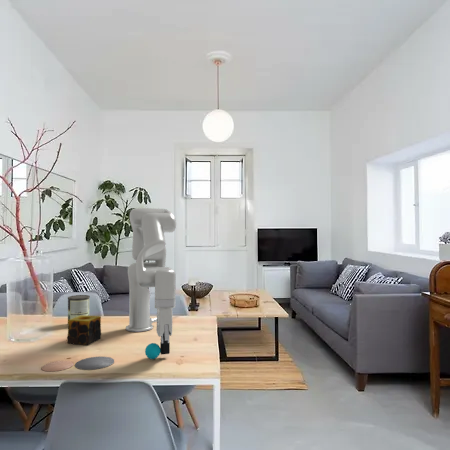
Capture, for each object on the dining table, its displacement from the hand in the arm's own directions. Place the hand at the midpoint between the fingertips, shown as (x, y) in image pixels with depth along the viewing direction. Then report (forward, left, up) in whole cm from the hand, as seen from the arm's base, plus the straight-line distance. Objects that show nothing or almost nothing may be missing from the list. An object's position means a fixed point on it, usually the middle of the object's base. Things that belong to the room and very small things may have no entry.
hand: (164, 353), depth 136 cm
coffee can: (-4, -72, -2) cm, 72 cm away
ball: (+4, -3, +1) cm, 4 cm away
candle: (+9, -42, -2) cm, 43 cm away
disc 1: (+30, -21, -2) cm, 36 cm away
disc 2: (+20, -14, -2) cm, 24 cm away
